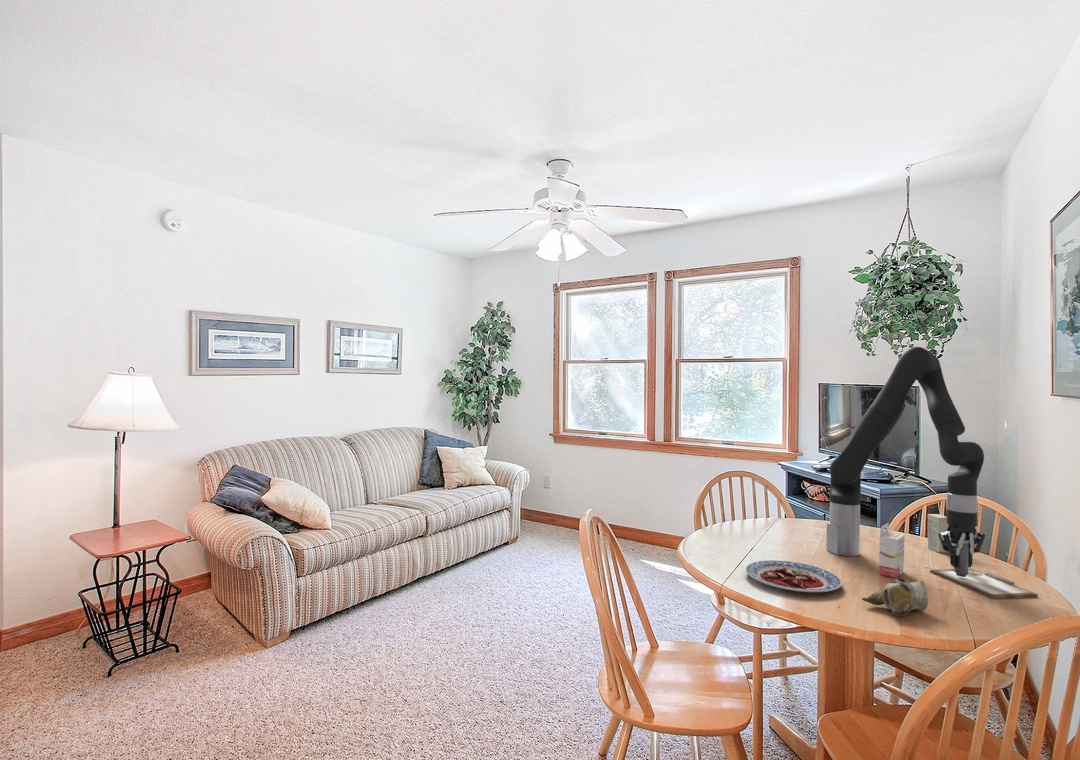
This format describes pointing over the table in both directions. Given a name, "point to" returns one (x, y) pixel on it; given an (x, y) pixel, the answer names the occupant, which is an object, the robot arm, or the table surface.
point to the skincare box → (936, 531)
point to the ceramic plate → (793, 576)
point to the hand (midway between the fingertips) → (961, 566)
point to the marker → (963, 560)
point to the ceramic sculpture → (901, 597)
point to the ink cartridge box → (891, 553)
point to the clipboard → (986, 584)
